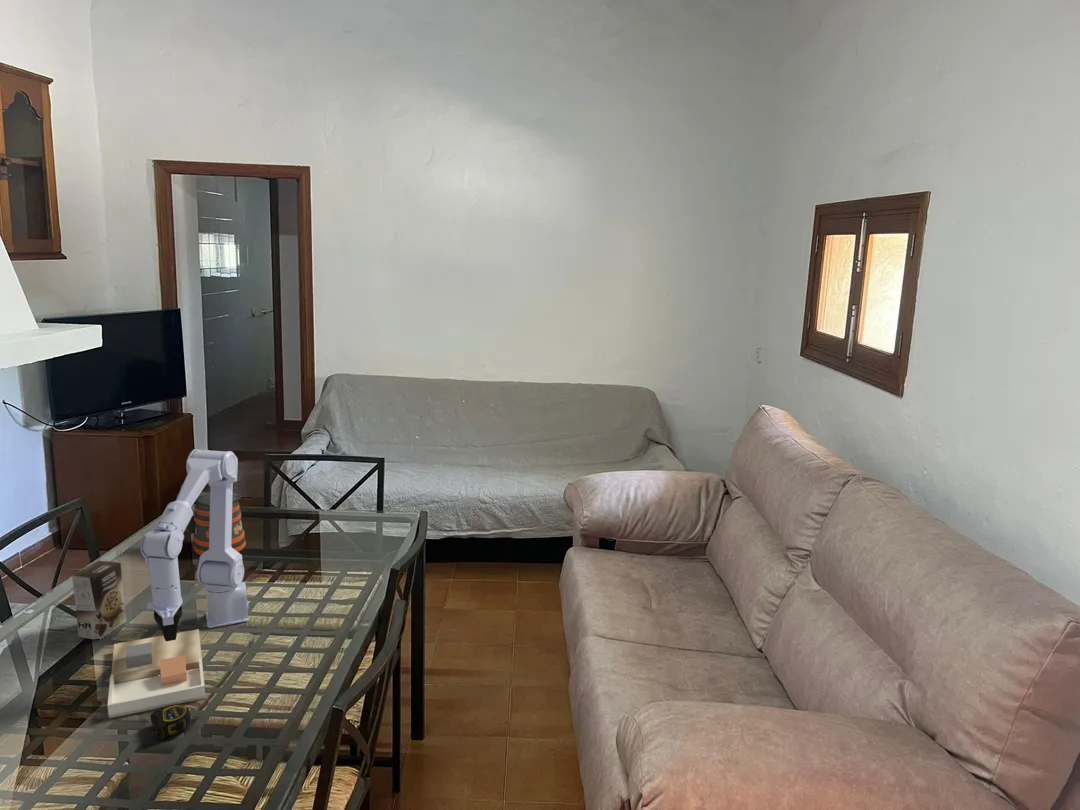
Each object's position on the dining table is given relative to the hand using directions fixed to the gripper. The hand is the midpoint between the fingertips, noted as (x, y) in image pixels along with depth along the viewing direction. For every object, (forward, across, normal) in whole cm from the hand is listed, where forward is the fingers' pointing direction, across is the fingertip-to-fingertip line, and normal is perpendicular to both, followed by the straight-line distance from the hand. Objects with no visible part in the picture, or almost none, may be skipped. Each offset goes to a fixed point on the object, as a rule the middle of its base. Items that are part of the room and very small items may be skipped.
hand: (170, 639), depth 178 cm
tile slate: (+5, -3, -7) cm, 9 cm away
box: (+7, +9, -3) cm, 12 cm away
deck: (+7, -5, -3) cm, 9 cm away
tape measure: (+8, +23, -1) cm, 24 cm away
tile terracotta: (+6, +5, 0) cm, 8 cm away
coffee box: (+8, -24, -15) cm, 30 cm away
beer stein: (+8, -65, +12) cm, 67 cm away
